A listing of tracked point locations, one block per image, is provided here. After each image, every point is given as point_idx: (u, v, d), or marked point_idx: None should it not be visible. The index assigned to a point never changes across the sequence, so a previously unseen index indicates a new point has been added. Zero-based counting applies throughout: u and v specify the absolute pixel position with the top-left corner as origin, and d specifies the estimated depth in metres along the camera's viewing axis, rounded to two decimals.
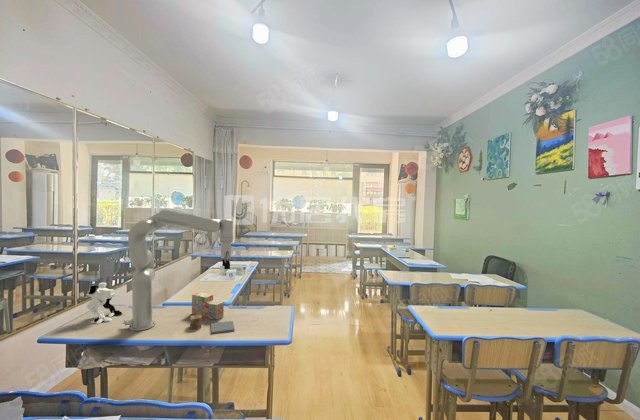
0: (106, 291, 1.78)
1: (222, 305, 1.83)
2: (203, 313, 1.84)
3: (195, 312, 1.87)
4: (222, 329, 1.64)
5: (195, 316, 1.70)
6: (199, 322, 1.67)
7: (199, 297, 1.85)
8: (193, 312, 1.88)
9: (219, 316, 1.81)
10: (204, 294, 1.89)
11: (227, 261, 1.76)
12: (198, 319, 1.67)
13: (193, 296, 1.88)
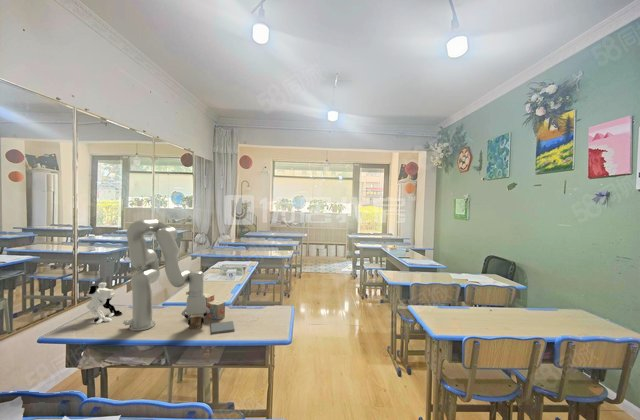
0: (106, 291, 1.78)
1: (223, 305, 1.83)
2: None
3: None
4: (222, 329, 1.64)
5: (195, 316, 1.70)
6: (199, 322, 1.67)
7: None
8: None
9: (221, 316, 1.81)
10: (205, 294, 1.88)
11: None
12: (198, 319, 1.67)
13: None
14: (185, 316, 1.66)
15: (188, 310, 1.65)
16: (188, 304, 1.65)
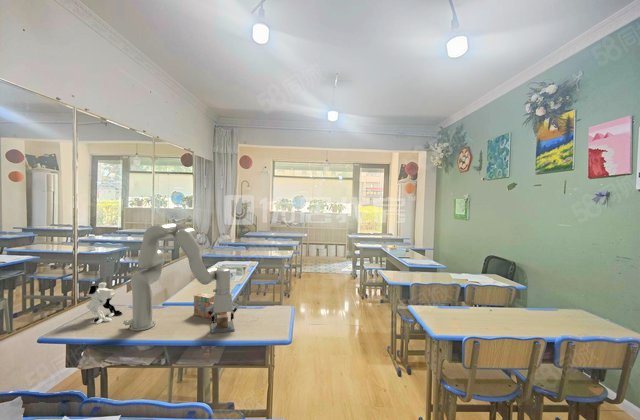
0: (106, 291, 1.78)
1: None
2: (206, 313, 1.83)
3: (197, 313, 1.86)
4: (222, 329, 1.64)
5: (221, 316, 1.68)
6: (226, 322, 1.66)
7: (202, 298, 1.84)
8: (195, 313, 1.87)
9: None
10: (206, 295, 1.88)
11: None
12: (225, 319, 1.66)
13: (195, 297, 1.86)
14: (209, 312, 1.64)
15: (215, 308, 1.64)
16: (215, 302, 1.64)
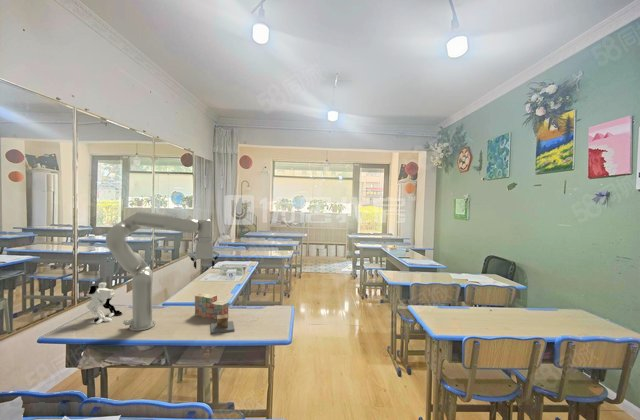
0: (106, 291, 1.78)
1: (227, 305, 1.83)
2: (207, 314, 1.83)
3: (198, 313, 1.85)
4: (222, 329, 1.64)
5: (221, 316, 1.68)
6: (226, 322, 1.66)
7: (203, 298, 1.84)
8: (196, 313, 1.86)
9: None
10: (207, 295, 1.87)
11: (215, 259, 1.84)
12: (225, 319, 1.66)
13: (196, 297, 1.86)
14: (191, 258, 1.79)
15: (197, 254, 1.78)
16: (197, 248, 1.78)
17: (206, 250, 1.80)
